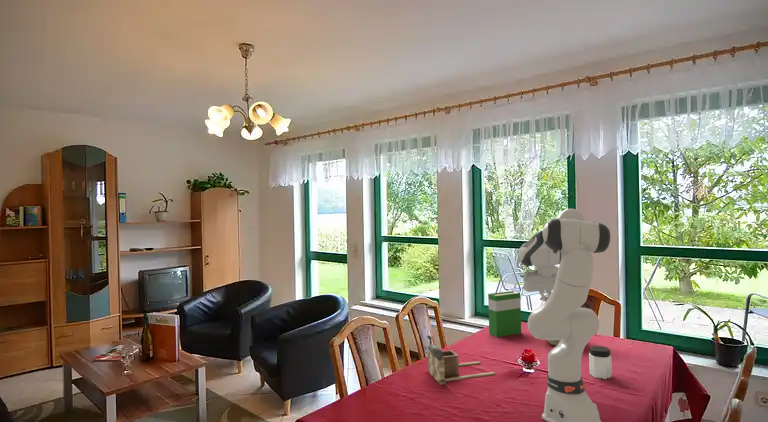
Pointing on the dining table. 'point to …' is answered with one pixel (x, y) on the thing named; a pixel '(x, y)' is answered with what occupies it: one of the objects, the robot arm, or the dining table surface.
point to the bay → (438, 365)
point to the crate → (450, 363)
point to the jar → (600, 362)
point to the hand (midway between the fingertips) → (545, 300)
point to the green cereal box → (504, 313)
